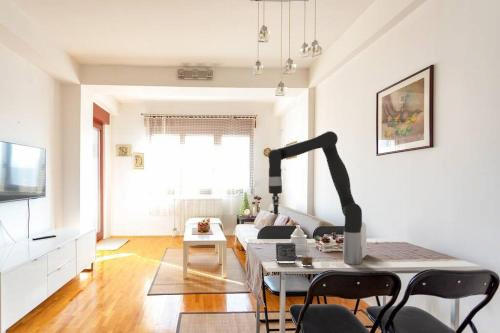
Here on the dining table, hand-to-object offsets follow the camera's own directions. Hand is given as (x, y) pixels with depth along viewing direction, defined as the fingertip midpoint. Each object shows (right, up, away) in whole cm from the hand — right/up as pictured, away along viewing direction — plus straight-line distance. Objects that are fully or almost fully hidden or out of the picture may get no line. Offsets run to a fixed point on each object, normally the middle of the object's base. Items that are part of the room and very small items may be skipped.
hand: (275, 213), depth 201 cm
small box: (+6, -28, +1) cm, 28 cm away
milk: (+49, -28, +16) cm, 59 cm away
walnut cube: (+16, -27, -6) cm, 32 cm away
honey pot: (+15, -28, +19) cm, 37 cm away
